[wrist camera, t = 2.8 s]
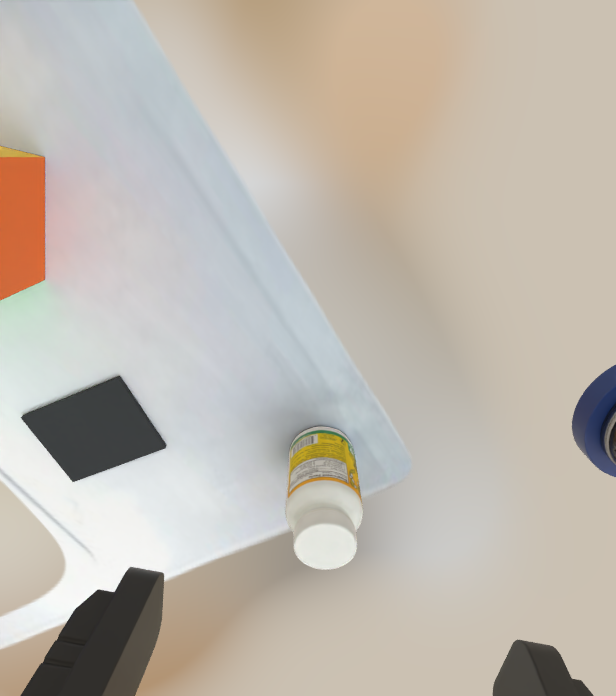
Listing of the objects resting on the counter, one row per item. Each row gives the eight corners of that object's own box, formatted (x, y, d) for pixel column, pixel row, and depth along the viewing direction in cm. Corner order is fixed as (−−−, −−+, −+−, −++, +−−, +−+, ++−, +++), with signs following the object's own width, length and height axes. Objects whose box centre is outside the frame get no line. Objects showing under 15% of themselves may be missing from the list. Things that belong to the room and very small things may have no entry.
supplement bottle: (296, 418, 34) (292, 507, 26) (361, 431, 35) (379, 522, 26) (283, 471, 37) (275, 570, 28) (344, 482, 37) (355, 583, 28)
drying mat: (119, 375, 33) (117, 378, 33) (166, 445, 36) (165, 448, 35) (23, 414, 34) (20, 417, 34) (75, 479, 37) (73, 482, 37)
